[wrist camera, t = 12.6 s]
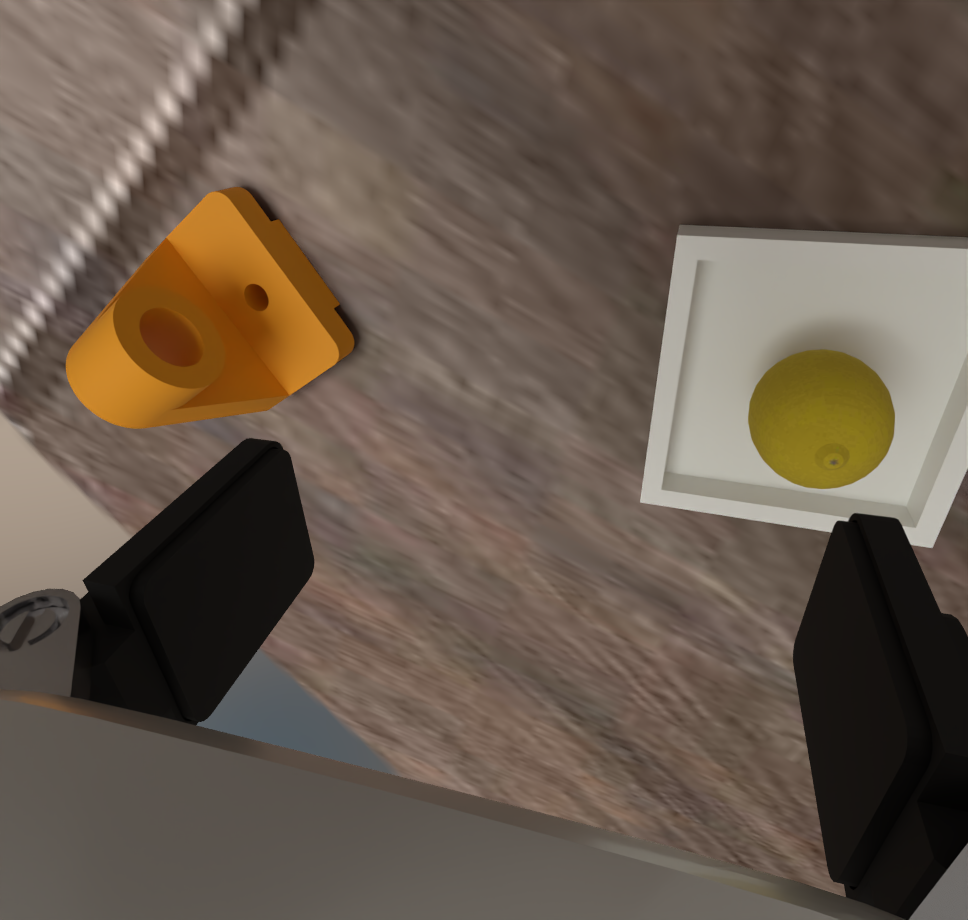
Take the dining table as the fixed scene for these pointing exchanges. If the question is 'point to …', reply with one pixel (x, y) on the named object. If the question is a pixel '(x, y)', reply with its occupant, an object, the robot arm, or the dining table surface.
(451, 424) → the dining table surface
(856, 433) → the lemon
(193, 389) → the bracket
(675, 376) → the tray
